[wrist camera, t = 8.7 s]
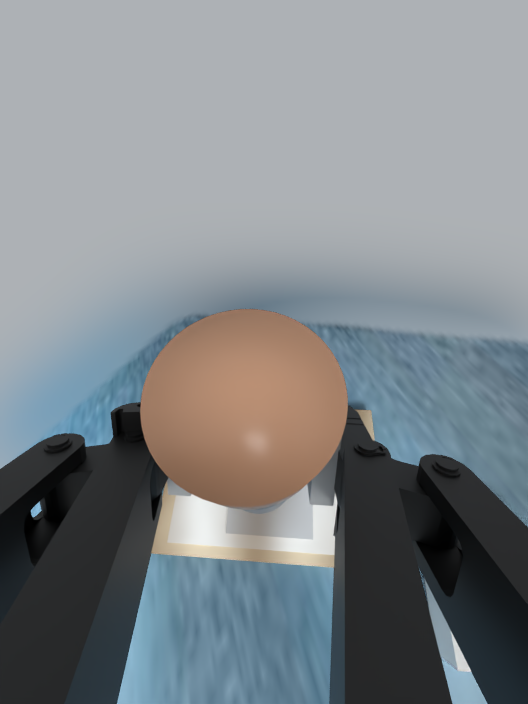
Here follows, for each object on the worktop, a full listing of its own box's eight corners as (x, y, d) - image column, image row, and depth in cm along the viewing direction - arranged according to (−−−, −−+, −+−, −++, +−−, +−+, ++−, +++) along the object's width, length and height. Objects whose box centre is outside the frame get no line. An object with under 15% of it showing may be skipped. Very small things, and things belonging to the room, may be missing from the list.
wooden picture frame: (368, 413, 26) (372, 409, 25) (385, 570, 21) (391, 572, 20) (184, 403, 27) (181, 399, 26) (154, 552, 21) (149, 553, 20)
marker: (296, 437, 18) (340, 312, 7) (296, 518, 16) (356, 513, 5) (225, 433, 18) (165, 305, 7) (216, 513, 16) (113, 497, 5)
